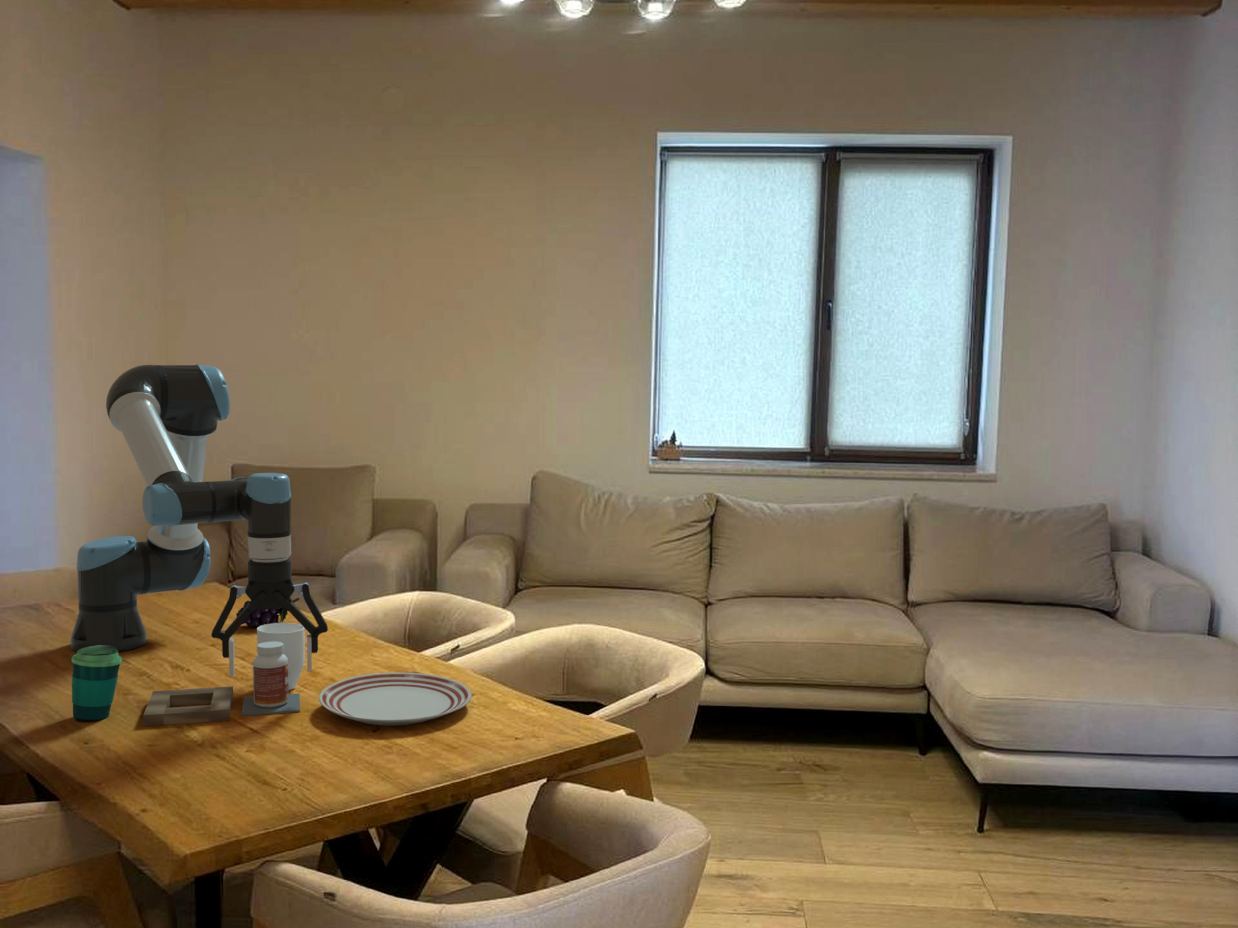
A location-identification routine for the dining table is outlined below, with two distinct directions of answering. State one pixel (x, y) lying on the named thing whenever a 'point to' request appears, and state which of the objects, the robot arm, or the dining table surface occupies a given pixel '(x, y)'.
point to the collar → (164, 715)
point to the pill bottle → (270, 675)
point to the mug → (287, 645)
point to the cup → (94, 682)
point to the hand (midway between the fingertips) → (271, 672)
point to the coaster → (289, 707)
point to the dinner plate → (394, 698)
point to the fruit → (264, 615)
